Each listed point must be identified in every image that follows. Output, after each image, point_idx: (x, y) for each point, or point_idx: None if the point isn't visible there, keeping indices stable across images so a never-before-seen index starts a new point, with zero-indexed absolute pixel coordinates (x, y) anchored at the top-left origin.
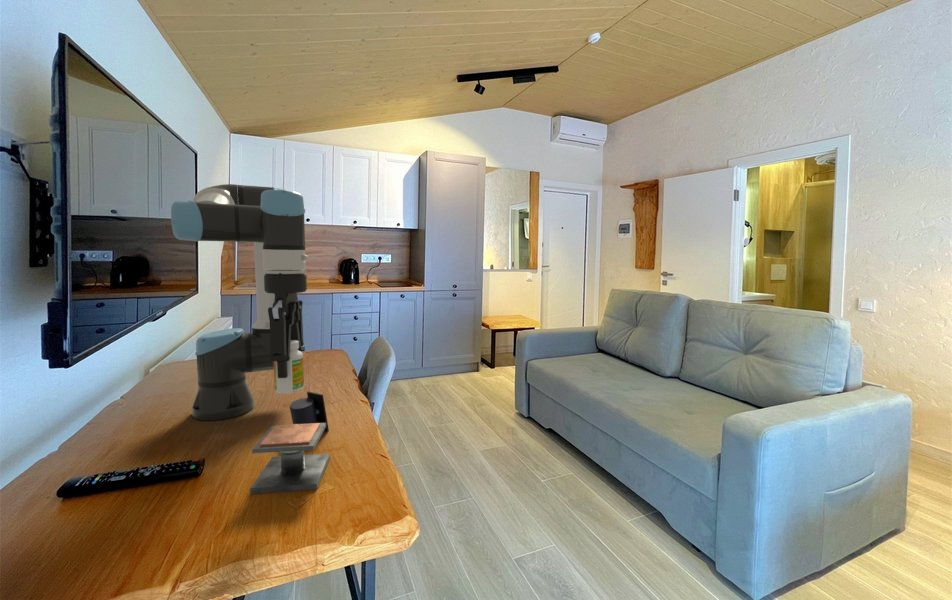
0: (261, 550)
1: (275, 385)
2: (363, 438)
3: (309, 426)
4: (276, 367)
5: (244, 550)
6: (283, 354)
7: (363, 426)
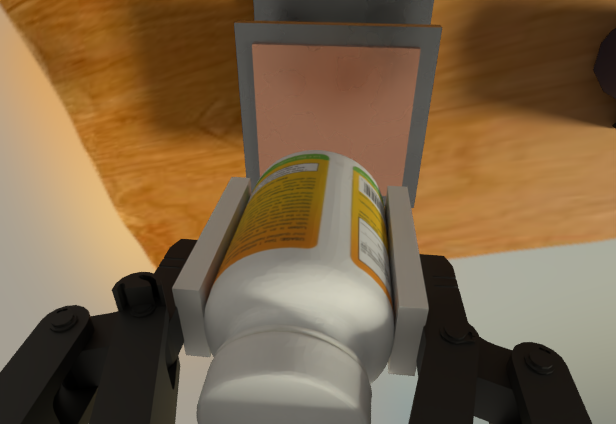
0: (73, 91)
1: (268, 175)
2: (510, 226)
3: (377, 170)
4: (187, 262)
5: (68, 60)
6: (57, 393)
7: (601, 223)
